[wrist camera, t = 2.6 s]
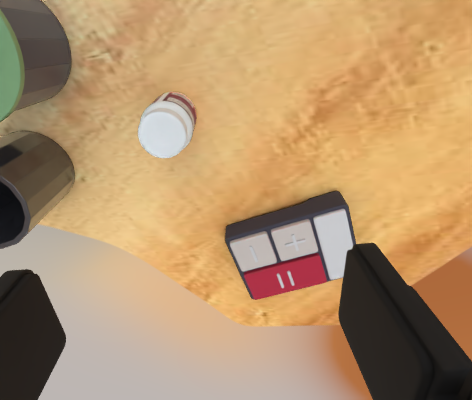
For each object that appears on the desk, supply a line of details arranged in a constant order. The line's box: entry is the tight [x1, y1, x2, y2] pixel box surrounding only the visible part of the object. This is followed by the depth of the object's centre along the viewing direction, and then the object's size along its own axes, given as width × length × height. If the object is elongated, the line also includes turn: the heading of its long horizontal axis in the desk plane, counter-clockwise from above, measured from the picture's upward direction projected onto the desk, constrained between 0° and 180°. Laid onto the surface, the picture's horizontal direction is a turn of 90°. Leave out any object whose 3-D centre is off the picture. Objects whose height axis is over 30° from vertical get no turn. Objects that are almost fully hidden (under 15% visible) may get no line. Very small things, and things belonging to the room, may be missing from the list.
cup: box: [0, 131, 75, 249], centre depth 31 cm, size 9×9×10 cm
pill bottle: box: [138, 92, 197, 158], centre depth 29 cm, size 5×5×8 cm
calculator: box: [225, 191, 356, 300], centre depth 40 cm, size 11×4×15 cm
